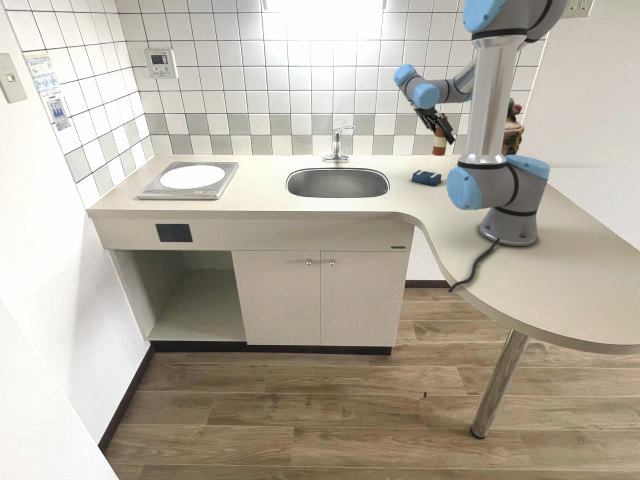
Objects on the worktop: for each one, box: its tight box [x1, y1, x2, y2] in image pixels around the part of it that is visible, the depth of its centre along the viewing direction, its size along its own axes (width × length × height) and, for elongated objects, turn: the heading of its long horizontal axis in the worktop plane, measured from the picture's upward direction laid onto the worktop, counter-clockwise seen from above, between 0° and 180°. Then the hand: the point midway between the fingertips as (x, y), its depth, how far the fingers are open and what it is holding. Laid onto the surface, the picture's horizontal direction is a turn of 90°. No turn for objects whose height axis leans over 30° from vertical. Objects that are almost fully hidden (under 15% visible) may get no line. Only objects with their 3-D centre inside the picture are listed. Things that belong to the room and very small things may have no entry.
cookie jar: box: [501, 97, 526, 157], centre depth 145 cm, size 25×25×32 cm
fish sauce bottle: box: [431, 115, 449, 157], centre depth 141 cm, size 5×5×15 cm
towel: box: [411, 169, 443, 187], centre depth 144 cm, size 8×10×3 cm
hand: (447, 140), depth 144 cm, fingers closed on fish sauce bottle, 5 cm apart
